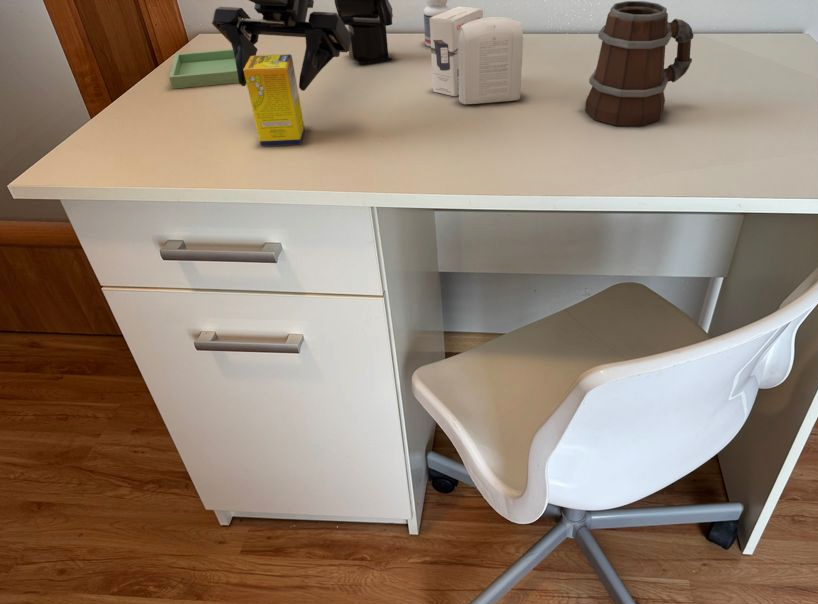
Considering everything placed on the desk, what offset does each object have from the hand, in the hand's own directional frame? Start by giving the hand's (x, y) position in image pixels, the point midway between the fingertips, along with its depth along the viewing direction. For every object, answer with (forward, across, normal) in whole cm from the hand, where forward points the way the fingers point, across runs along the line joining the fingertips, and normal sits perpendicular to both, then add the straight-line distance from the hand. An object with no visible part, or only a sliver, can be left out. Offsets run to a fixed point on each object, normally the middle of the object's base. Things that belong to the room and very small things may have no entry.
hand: (271, 87), depth 94 cm
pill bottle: (-30, +10, +40) cm, 51 cm away
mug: (-10, +50, +21) cm, 55 cm away
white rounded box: (-10, +27, +21) cm, 35 cm away
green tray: (-12, -26, +23) cm, 36 cm away
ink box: (-13, +20, +24) cm, 34 cm away
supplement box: (+5, 0, +6) cm, 8 cm away
